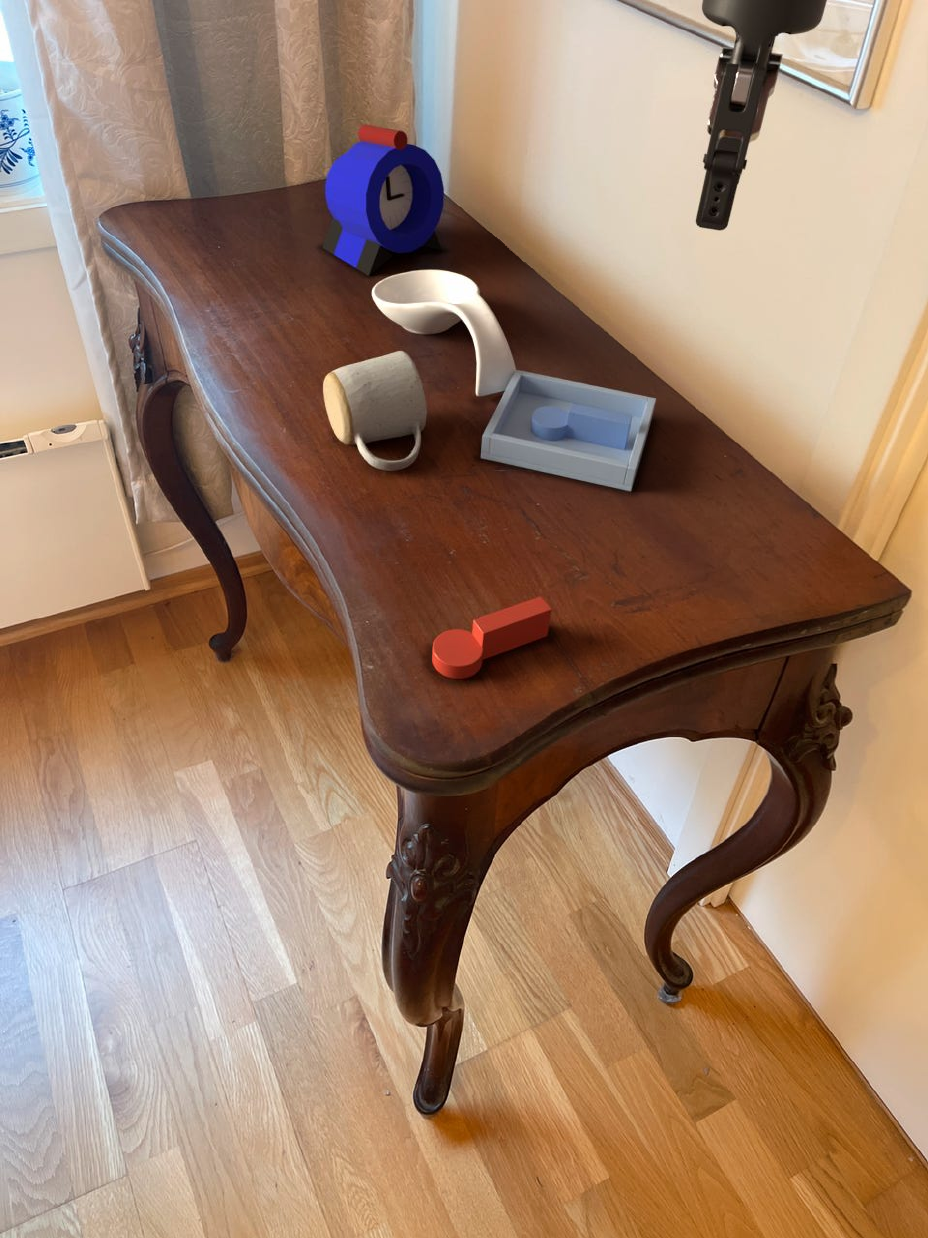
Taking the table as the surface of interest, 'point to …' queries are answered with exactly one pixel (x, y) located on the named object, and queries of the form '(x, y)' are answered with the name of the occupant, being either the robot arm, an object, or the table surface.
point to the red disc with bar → (490, 638)
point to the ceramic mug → (376, 405)
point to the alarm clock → (382, 199)
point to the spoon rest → (449, 318)
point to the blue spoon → (582, 425)
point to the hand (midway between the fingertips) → (717, 204)
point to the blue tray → (565, 457)
